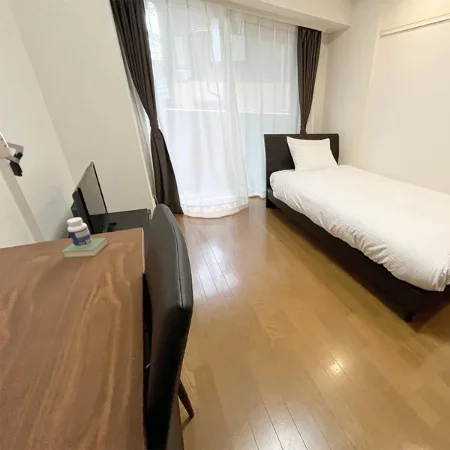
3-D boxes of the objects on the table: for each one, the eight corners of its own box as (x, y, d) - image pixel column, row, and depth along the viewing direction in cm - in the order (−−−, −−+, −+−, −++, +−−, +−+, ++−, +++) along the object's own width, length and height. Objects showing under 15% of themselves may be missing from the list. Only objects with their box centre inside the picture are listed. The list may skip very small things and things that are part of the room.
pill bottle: (73, 244, 97) (63, 219, 92) (91, 239, 100) (82, 215, 96) (76, 250, 93) (65, 224, 89) (94, 244, 97) (85, 219, 92)
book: (64, 257, 93) (61, 251, 92) (80, 244, 101) (77, 238, 100) (95, 256, 94) (92, 250, 93) (108, 243, 102) (106, 237, 101)
